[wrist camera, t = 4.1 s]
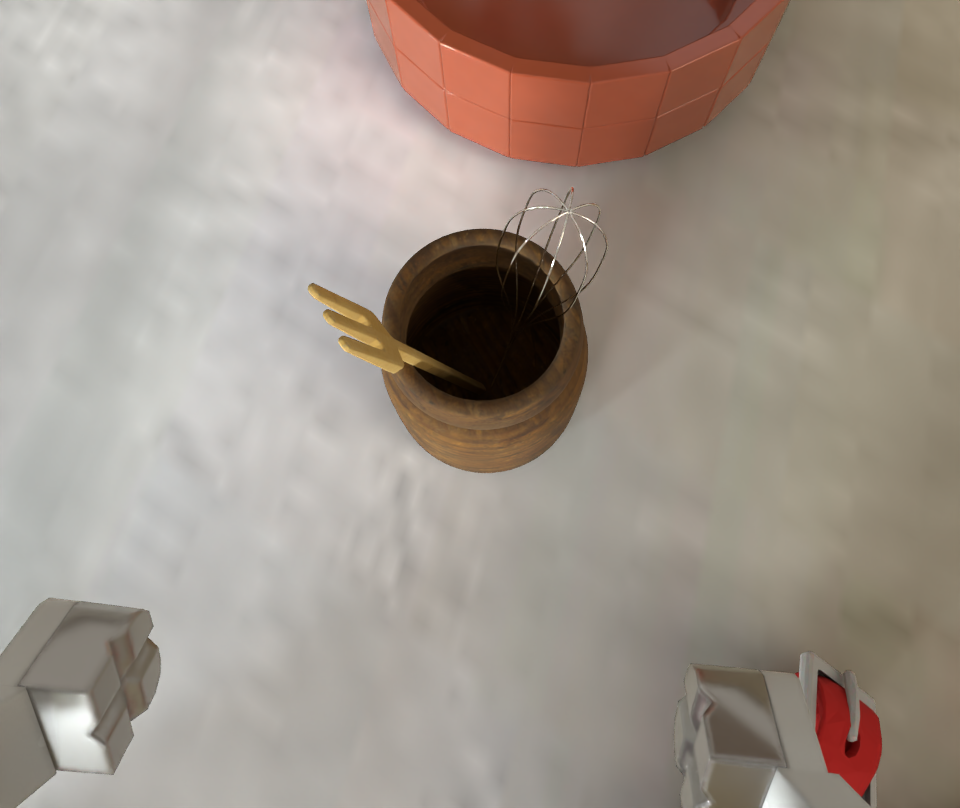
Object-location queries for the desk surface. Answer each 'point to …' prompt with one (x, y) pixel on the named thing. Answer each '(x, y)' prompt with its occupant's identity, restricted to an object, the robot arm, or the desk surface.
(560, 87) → the bowl
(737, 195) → the desk surface
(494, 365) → the utensil holder
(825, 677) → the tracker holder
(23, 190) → the desk surface
